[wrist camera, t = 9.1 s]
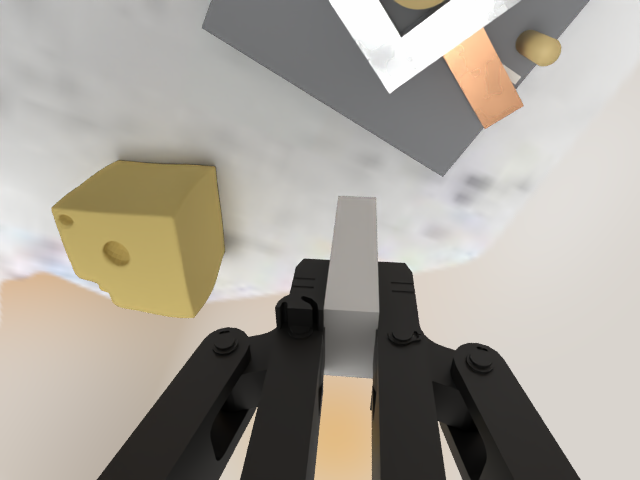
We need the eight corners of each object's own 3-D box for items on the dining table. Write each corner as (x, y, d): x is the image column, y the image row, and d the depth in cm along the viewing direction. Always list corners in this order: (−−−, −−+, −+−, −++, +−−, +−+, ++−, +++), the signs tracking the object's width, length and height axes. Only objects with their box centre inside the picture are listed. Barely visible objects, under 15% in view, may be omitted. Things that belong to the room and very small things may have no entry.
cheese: (137, 247, 45) (82, 310, 37) (112, 151, 39) (40, 201, 31) (231, 256, 44) (197, 322, 36) (221, 159, 39) (176, 212, 30)
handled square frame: (296, -58, 27) (289, -60, 25) (451, -210, 23) (458, -228, 21) (429, 148, 34) (432, 160, 32) (572, 60, 29) (586, 68, 27)
